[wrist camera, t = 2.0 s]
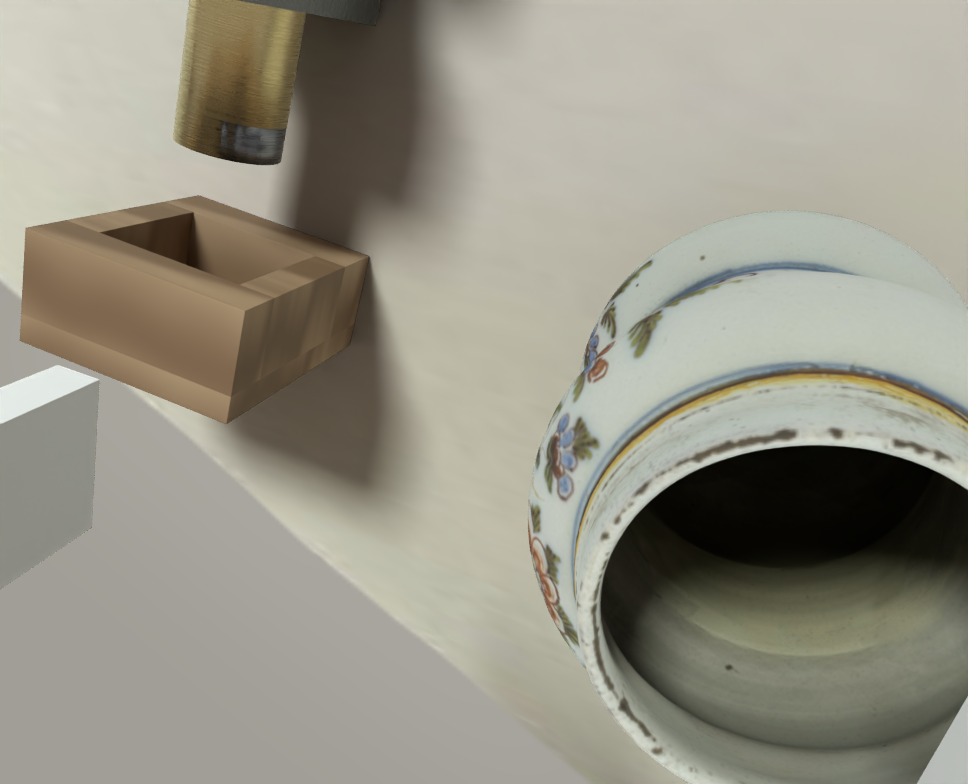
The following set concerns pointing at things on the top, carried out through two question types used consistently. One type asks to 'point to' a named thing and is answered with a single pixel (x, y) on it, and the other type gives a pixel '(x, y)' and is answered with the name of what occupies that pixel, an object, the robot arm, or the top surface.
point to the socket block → (189, 301)
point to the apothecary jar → (768, 505)
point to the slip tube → (246, 73)
